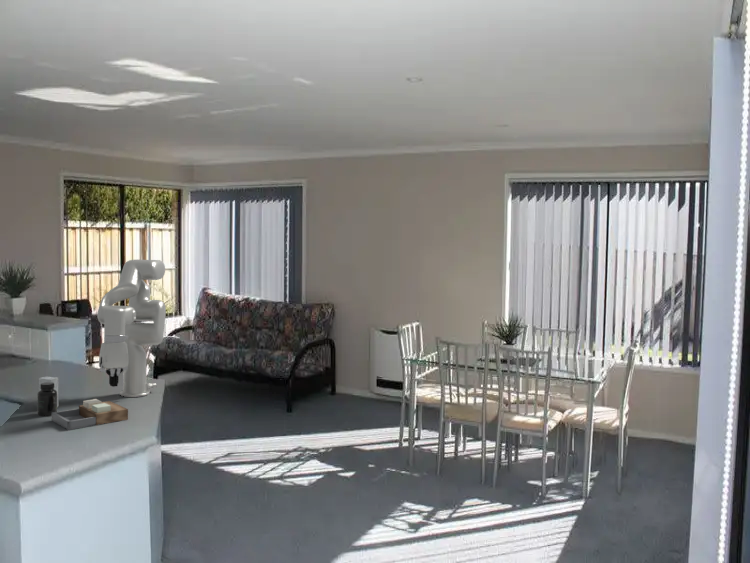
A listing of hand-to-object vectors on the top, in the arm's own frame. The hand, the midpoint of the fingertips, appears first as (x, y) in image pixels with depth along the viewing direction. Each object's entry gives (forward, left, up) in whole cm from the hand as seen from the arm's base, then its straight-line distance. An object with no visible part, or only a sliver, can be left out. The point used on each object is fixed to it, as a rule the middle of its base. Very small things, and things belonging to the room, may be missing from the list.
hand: (113, 385), depth 256 cm
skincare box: (+16, -25, -11) cm, 31 cm away
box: (+17, +3, -11) cm, 20 cm away
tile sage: (+8, +7, -7) cm, 13 cm away
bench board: (+6, +3, -11) cm, 13 cm away
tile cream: (+8, -1, -7) cm, 11 cm away
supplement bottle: (+20, -15, -11) cm, 27 cm away
